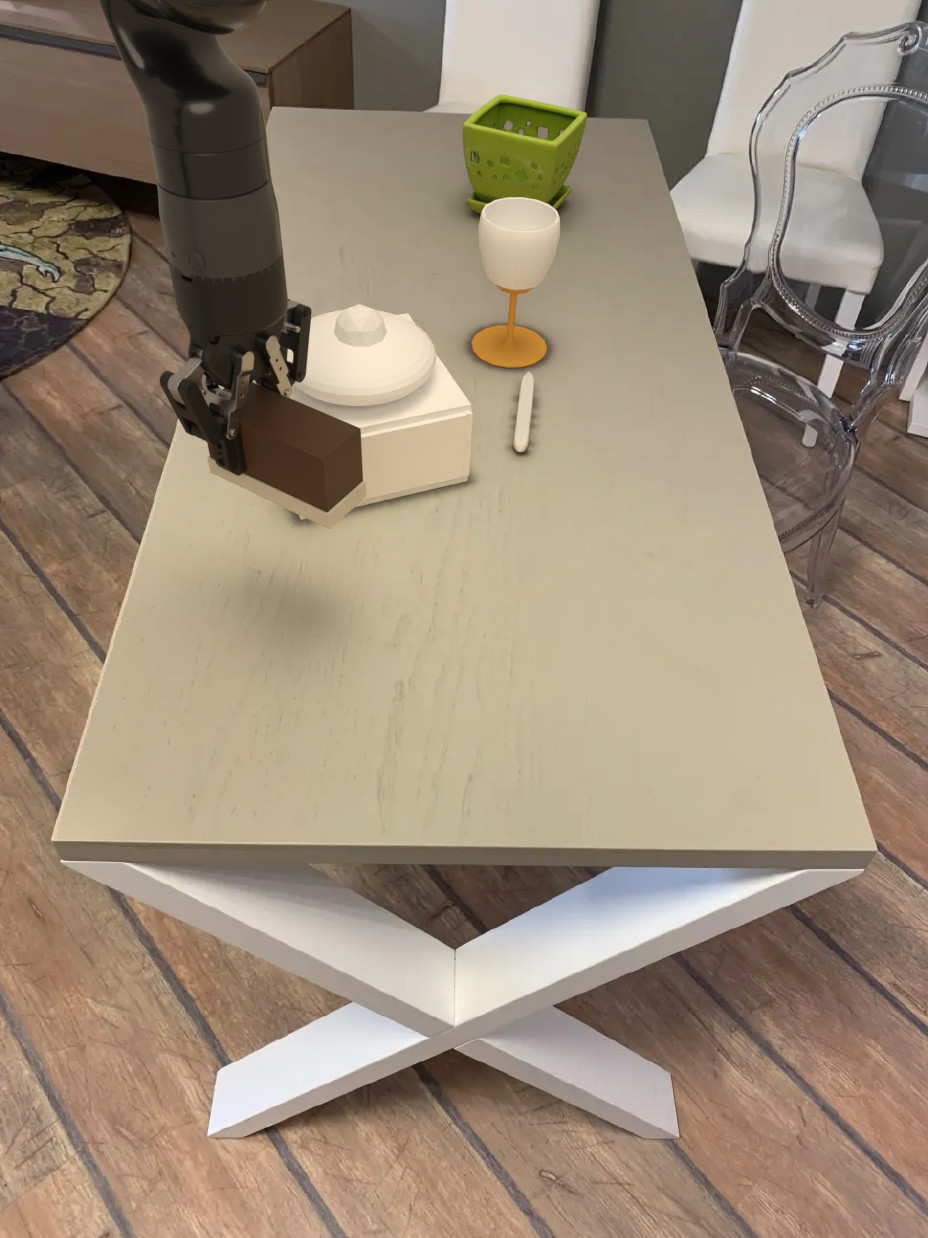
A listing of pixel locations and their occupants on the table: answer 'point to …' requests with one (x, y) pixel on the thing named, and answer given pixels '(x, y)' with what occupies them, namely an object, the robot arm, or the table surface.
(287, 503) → the brown block cream base
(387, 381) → the white lidded box
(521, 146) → the flower pot
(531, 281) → the cup
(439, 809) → the table surface
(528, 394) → the cream rounded rod
